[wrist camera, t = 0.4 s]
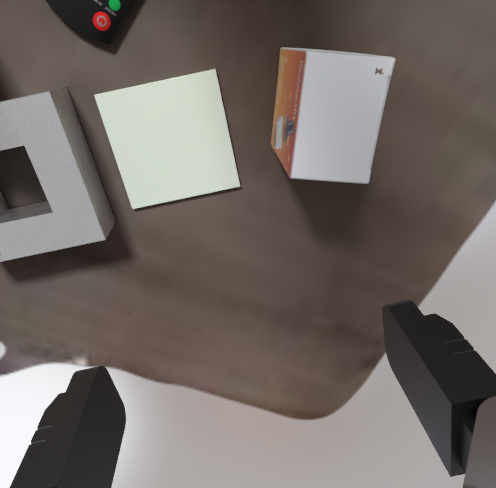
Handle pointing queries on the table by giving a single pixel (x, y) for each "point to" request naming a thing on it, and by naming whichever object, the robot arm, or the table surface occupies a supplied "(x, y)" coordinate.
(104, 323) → the table surface
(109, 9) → the remote control
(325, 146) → the small box
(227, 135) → the mat
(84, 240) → the socket block
